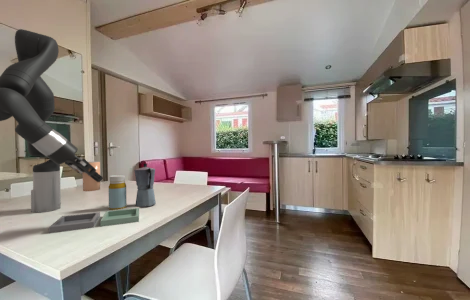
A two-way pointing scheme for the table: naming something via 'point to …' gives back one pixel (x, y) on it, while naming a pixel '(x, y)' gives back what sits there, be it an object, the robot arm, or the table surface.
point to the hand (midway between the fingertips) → (97, 179)
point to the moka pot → (145, 186)
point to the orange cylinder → (91, 179)
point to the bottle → (117, 192)
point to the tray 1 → (75, 222)
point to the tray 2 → (120, 217)
